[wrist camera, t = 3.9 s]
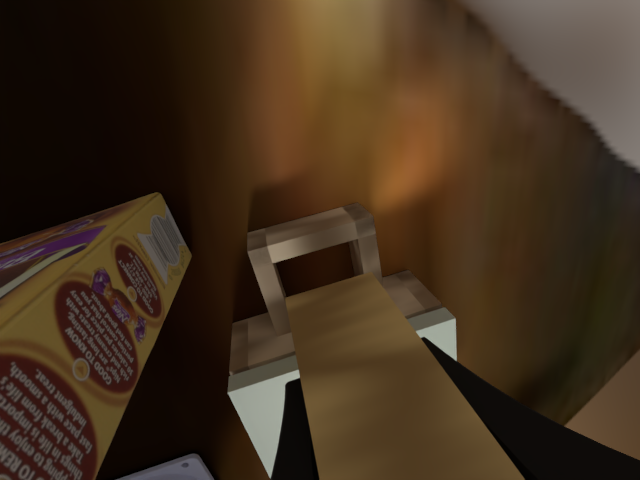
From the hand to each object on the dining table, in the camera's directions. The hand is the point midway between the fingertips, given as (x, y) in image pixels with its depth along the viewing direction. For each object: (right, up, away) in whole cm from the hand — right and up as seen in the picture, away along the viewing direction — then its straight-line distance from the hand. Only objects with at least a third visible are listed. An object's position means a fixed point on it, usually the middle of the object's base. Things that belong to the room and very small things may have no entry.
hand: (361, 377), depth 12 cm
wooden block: (-1, +1, +3) cm, 3 cm away
